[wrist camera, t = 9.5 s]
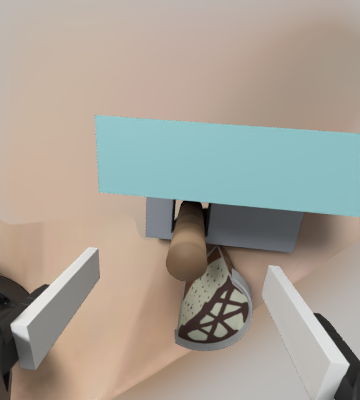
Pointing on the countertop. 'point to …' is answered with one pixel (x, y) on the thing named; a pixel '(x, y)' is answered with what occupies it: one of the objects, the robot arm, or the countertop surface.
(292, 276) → the countertop surface
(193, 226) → the peg
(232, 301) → the food container
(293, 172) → the socket
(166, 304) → the countertop surface
